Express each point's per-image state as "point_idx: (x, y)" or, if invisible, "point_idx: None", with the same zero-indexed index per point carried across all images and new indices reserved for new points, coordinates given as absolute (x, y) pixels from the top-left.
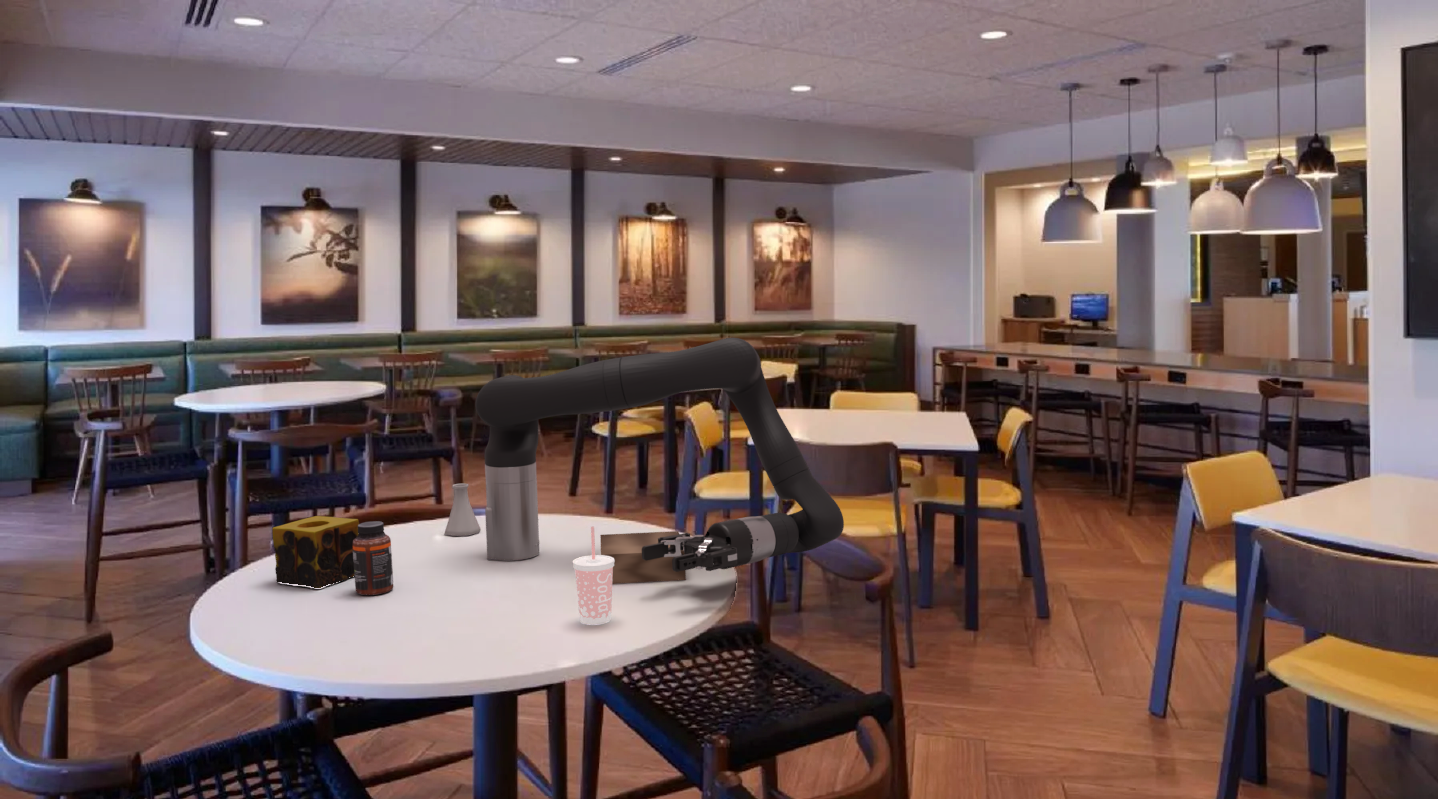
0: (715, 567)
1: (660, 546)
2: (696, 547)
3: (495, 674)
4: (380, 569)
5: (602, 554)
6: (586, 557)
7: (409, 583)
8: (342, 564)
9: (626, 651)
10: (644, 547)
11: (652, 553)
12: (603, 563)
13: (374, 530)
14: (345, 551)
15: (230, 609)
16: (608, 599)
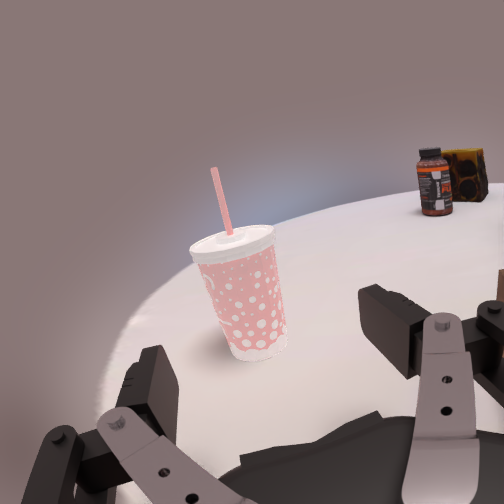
0: (77, 495)
1: (399, 328)
2: (251, 461)
3: (164, 288)
4: (423, 191)
5: (501, 271)
6: (267, 230)
7: (463, 217)
8: (461, 186)
9: (111, 359)
10: (364, 288)
11: (379, 329)
12: (203, 248)
13: (421, 153)
14: (466, 176)
15: (397, 196)
16: (221, 321)
